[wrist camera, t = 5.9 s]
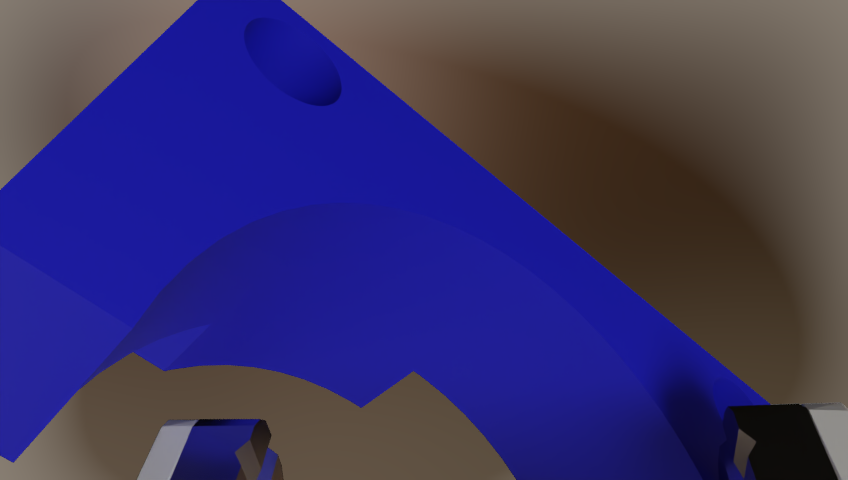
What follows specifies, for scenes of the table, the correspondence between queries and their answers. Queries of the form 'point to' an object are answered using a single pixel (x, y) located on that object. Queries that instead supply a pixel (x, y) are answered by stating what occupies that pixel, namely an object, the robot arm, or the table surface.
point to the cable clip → (329, 261)
